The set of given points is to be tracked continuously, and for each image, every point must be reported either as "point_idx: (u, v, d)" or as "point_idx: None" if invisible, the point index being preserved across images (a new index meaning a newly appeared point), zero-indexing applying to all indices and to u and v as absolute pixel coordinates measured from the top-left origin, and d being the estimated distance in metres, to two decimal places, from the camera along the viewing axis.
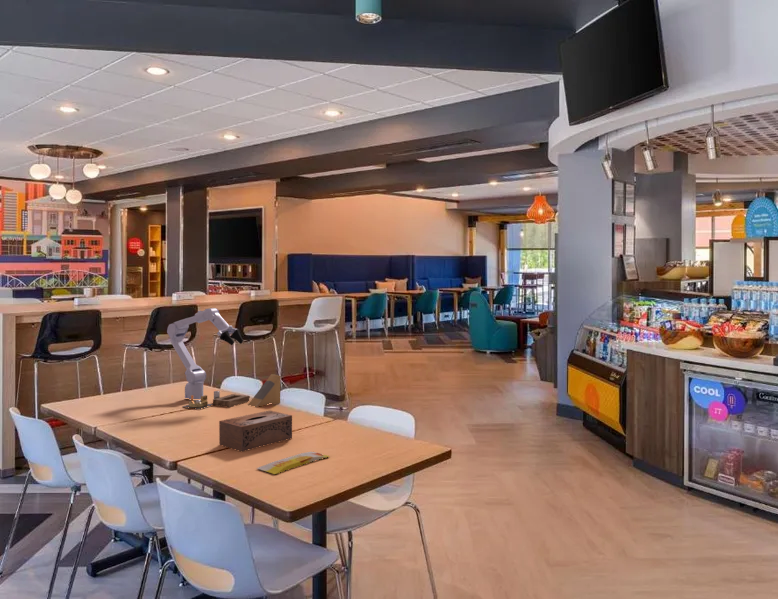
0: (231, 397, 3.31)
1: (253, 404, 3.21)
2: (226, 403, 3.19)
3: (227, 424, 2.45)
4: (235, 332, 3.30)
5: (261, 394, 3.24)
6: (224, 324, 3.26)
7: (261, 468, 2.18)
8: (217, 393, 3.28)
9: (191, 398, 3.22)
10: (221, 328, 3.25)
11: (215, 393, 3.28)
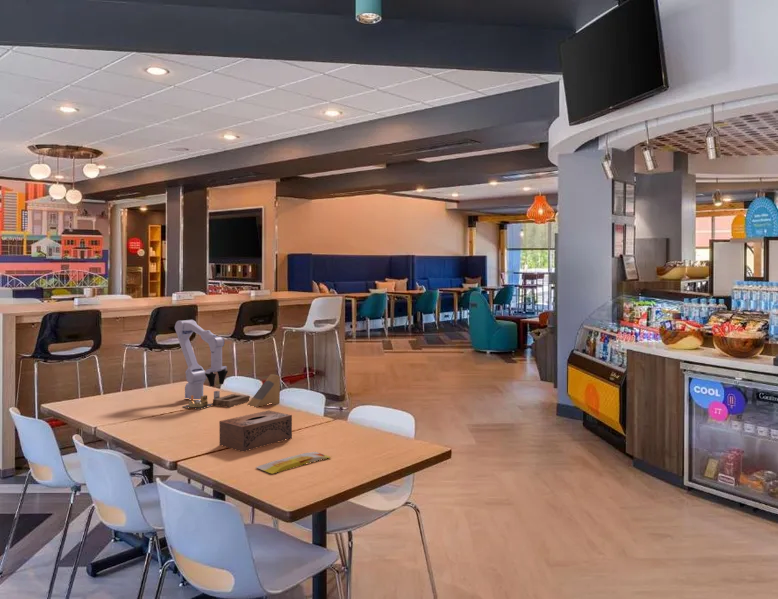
0: (231, 397, 3.31)
1: (252, 404, 3.21)
2: (226, 403, 3.19)
3: (228, 424, 2.45)
4: (222, 372, 3.31)
5: (261, 395, 3.23)
6: (218, 363, 3.26)
7: (260, 467, 2.19)
8: (217, 393, 3.28)
9: (191, 398, 3.22)
10: (213, 365, 3.26)
11: (215, 393, 3.28)
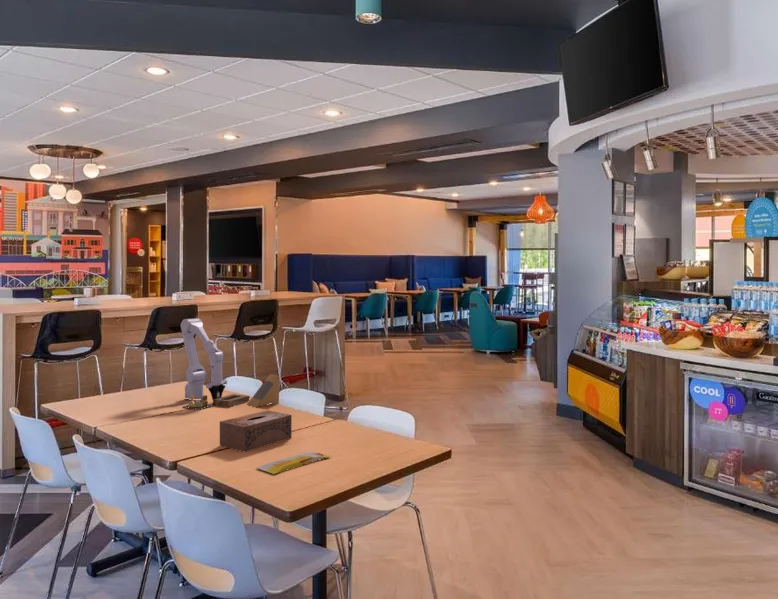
0: (231, 397, 3.31)
1: (252, 404, 3.20)
2: (226, 403, 3.19)
3: (228, 424, 2.45)
4: (220, 387, 3.30)
5: (260, 395, 3.23)
6: (218, 378, 3.26)
7: (261, 468, 2.18)
8: (217, 393, 3.28)
9: (191, 398, 3.22)
10: (213, 379, 3.26)
11: None
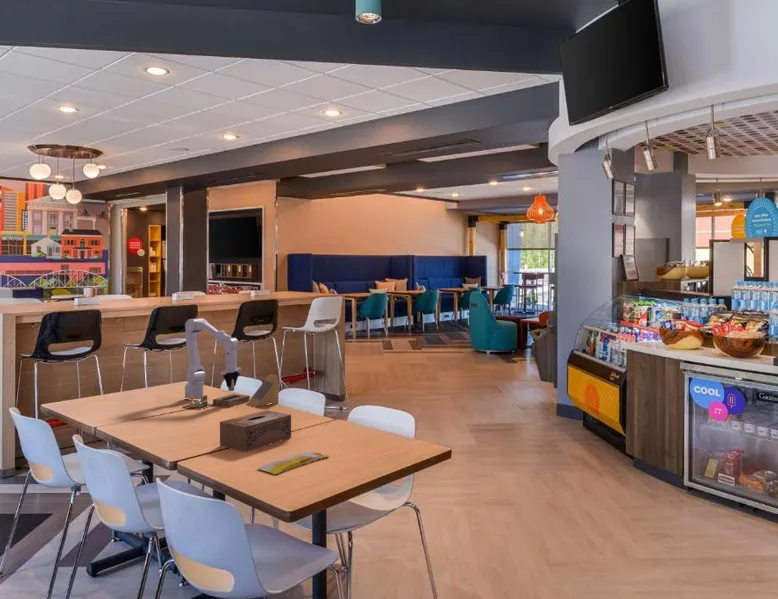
0: (231, 397, 3.31)
1: (251, 404, 3.20)
2: (226, 403, 3.19)
3: (229, 425, 2.44)
4: (234, 374, 3.28)
5: (260, 395, 3.23)
6: (233, 365, 3.25)
7: (261, 468, 2.18)
8: (232, 381, 3.26)
9: (191, 398, 3.22)
10: (228, 366, 3.24)
11: None
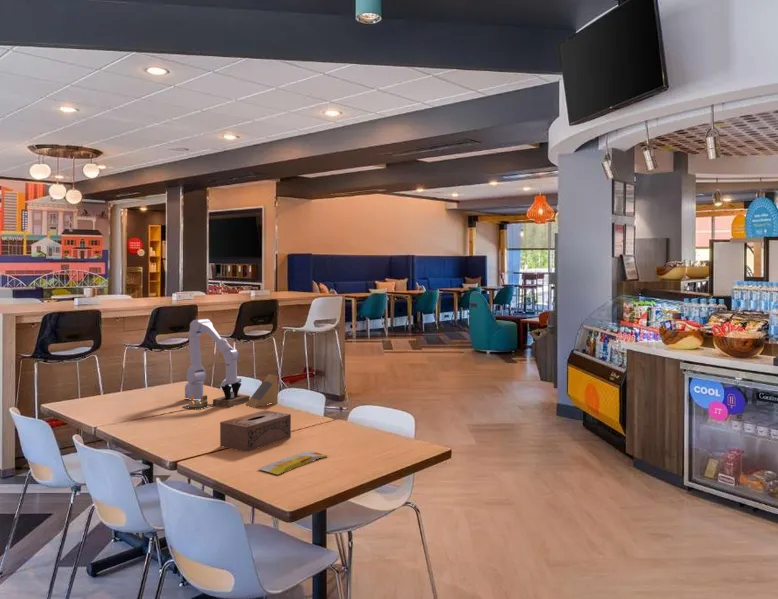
0: None
1: (250, 405, 3.20)
2: (226, 403, 3.19)
3: (229, 425, 2.44)
4: (236, 384, 3.30)
5: (259, 395, 3.22)
6: (233, 376, 3.25)
7: (262, 469, 2.17)
8: (232, 394, 3.26)
9: (191, 398, 3.22)
10: (228, 377, 3.24)
11: (230, 394, 3.26)
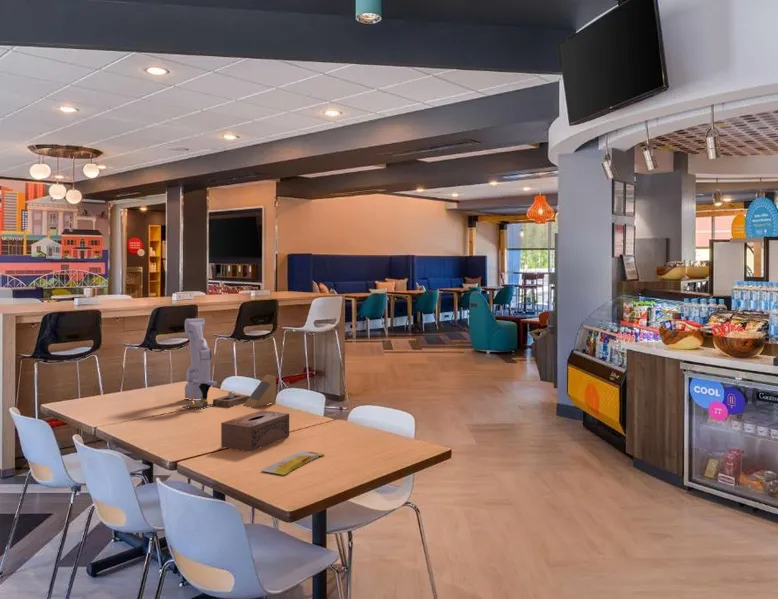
0: None
1: (249, 405, 3.19)
2: (226, 403, 3.19)
3: (232, 425, 2.43)
4: None
5: (257, 395, 3.22)
6: (199, 376, 3.20)
7: (266, 470, 2.16)
8: (232, 394, 3.26)
9: (191, 398, 3.22)
10: None
11: (230, 394, 3.26)
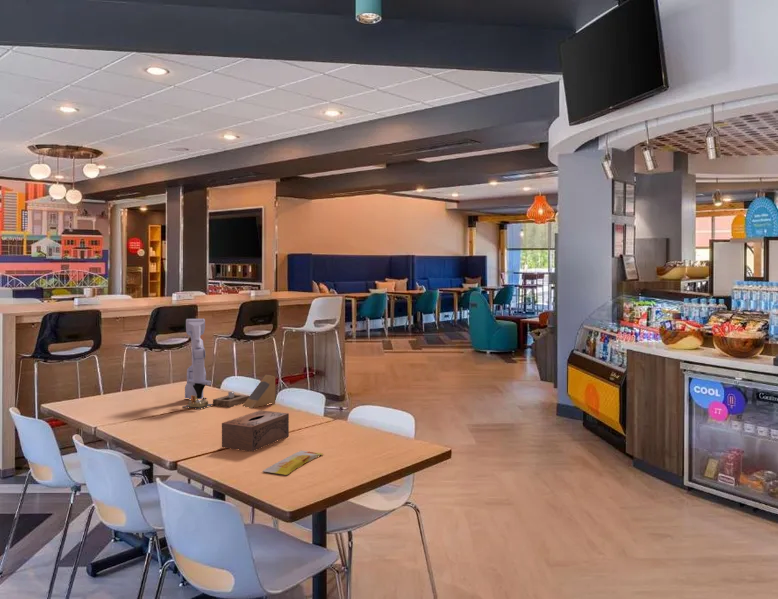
0: None
1: (248, 405, 3.19)
2: (226, 403, 3.19)
3: (232, 425, 2.43)
4: None
5: (256, 395, 3.21)
6: (193, 375, 3.20)
7: (267, 470, 2.15)
8: (232, 394, 3.26)
9: (191, 398, 3.22)
10: None
11: (230, 394, 3.26)
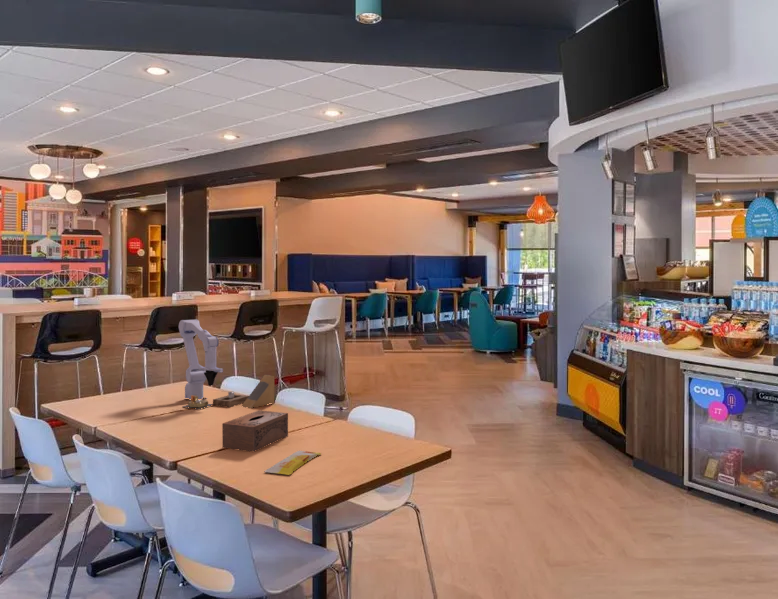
0: None
1: (247, 405, 3.18)
2: (226, 403, 3.19)
3: (234, 426, 2.43)
4: None
5: (255, 395, 3.21)
6: (205, 363, 3.23)
7: (269, 471, 2.15)
8: (232, 394, 3.26)
9: (191, 398, 3.22)
10: None
11: (230, 394, 3.26)
